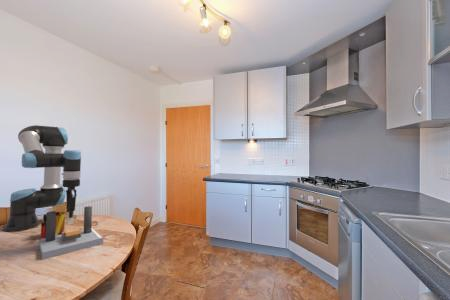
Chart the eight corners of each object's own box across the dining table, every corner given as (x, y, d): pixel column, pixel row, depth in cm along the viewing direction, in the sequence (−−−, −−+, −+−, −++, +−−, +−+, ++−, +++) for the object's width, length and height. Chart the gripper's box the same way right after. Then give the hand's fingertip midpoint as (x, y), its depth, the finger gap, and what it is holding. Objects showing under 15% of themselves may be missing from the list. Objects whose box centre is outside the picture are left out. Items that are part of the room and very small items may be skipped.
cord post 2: (82, 232, 117) (83, 207, 117) (90, 230, 119) (91, 205, 120) (84, 234, 114) (85, 208, 115) (92, 232, 117) (92, 207, 117)
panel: (38, 245, 106) (39, 231, 107) (92, 233, 123) (93, 221, 124) (42, 259, 92) (43, 243, 93) (103, 243, 109) (103, 230, 110)
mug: (40, 242, 110) (41, 219, 110) (43, 234, 121) (44, 213, 121) (63, 238, 115) (64, 216, 116) (64, 231, 127) (65, 211, 127)
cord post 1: (45, 240, 105) (46, 212, 106) (54, 238, 108) (55, 210, 108) (46, 242, 103) (47, 213, 103) (55, 240, 105) (56, 212, 106)
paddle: (62, 235, 110) (62, 231, 110) (76, 232, 114) (76, 229, 115) (66, 236, 102) (66, 232, 102) (81, 233, 106) (81, 229, 106)
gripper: (60, 178, 114) (59, 221, 113) (65, 180, 105) (63, 228, 104) (77, 177, 119) (76, 219, 119) (82, 179, 110) (81, 224, 110)
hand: (70, 223), depth 112 cm, fingers closed
